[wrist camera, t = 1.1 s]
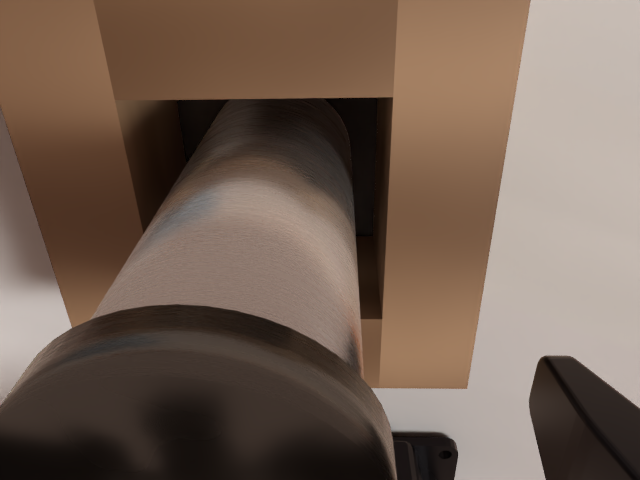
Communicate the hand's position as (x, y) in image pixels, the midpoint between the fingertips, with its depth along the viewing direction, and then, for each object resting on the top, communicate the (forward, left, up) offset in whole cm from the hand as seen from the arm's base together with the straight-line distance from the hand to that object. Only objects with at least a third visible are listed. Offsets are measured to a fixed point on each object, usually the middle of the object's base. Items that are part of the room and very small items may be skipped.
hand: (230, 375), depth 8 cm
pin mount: (0, 0, -9) cm, 9 cm away
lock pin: (0, 0, -9) cm, 9 cm away
